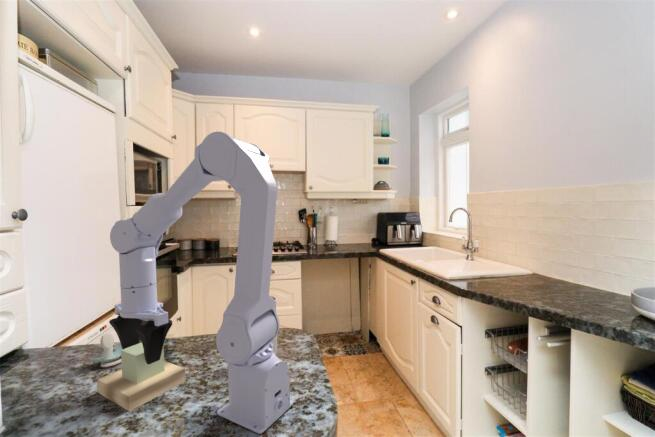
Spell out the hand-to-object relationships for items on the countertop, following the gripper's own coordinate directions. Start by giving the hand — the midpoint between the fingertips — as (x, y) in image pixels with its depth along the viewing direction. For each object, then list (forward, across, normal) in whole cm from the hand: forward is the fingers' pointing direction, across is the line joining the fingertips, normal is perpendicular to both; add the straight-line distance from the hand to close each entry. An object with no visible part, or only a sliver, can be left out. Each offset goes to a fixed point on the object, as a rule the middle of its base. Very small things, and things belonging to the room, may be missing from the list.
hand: (141, 357), depth 56 cm
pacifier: (+6, +17, -2) cm, 18 cm away
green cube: (+3, 0, 0) cm, 3 cm away
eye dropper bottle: (+6, -12, -20) cm, 24 cm away
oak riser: (+6, 0, 0) cm, 6 cm away
